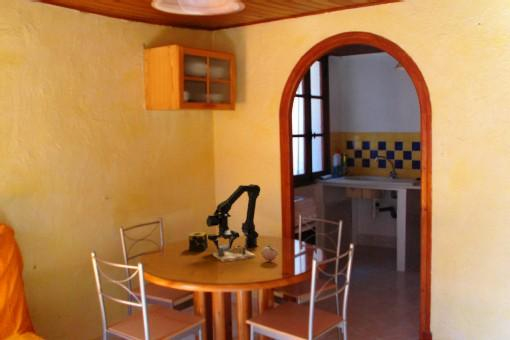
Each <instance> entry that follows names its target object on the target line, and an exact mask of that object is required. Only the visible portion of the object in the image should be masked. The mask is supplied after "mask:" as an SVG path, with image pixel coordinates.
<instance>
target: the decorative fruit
mask: <svg viewBox="0 0 510 340" xmlns="http://www.w3.org/2000/svg"><path fill="white" fill-rule="evenodd" d="M278 255H279V253H278V249H277V248H275V246H271V245H270V244H266V245H265V247H263V248H262V249H261V257H262V258H263V259H264V260H266V261H268V262H270V263H271V262H272V261H275V259H277V256H278Z"/></svg>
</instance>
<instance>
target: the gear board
mask: <svg viewBox="0 0 510 340" xmlns="http://www.w3.org/2000/svg"><path fill="white" fill-rule="evenodd" d="M240 245H241V244H240ZM240 245H239V244H238V247H241V246H240ZM212 256H213V257H215V258H216V259H218V260H219V261H221V262H222V263H224V262H232V261H239V260H246V259H253V258H256V254H255V253H252V252H250V251H248V250H247V249H246V247H245V248H243V252H241V253H235V252H233V250H230V251H224V249H218V250H217V252H212Z"/></svg>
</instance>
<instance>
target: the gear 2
mask: <svg viewBox="0 0 510 340" xmlns="http://www.w3.org/2000/svg"><path fill="white" fill-rule="evenodd" d="M238 245H239V244H238ZM238 245H237V244H236V245H234V246H233V248H232V249H233V252H235V253H241V252H243V248H245V249H246V246H245V245H243V244H242V245H241V244H240V246H241V247H238Z"/></svg>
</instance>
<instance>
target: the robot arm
mask: <svg viewBox="0 0 510 340" xmlns="http://www.w3.org/2000/svg"><path fill="white" fill-rule="evenodd" d="M245 192H246V193H247V197H248V202H247V209H246V217H245V221H244V222H242V223H241V228H240V229H241V232H242V234H243V235H244V237H245V242H244V246H245V247H247V248H249V249H250V248H257V247H259V246H258V242H257V240H258V238H259V233H258V232H257V231H256V225H255V222H254V221H255V213H256V205H257V200H258V197H259V196H260V193H261V187H260V185H258V184H252V183H251V184H249V185H245V184H244V185H243V184H241V185H238V188H236V189H235V190H234V191H233V193H231V195H229V196H228V197H227V198H226V200H224V201H221V202H220V203H219V204H217V206H216V210H215V211H214V213H213V214H211V215H207V218H206V221H205V222H206V223H205V224H206V226H207V227H209V228H211V227H216V226H217V228H218V234H215V233H211V234H207V240H209V241H211V242H213V243H214V245H215V249H216V250H217V251H218V249H219V240H218V239H222V238H223V239H224V240H227V239H228V246H230V250H231V249H232V246H233V243H234V241H235V240H237V238H240V233H239V232H238V231H235V230H234V229H230V227H229V218H230V217H232V215H231V214H230V213H229V212H230V211H231V209H232V207H233V205H234V204H235V203H236V202H237V201H238V199H239V198H241V197H242V195H243V194H244V193H245Z"/></svg>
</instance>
